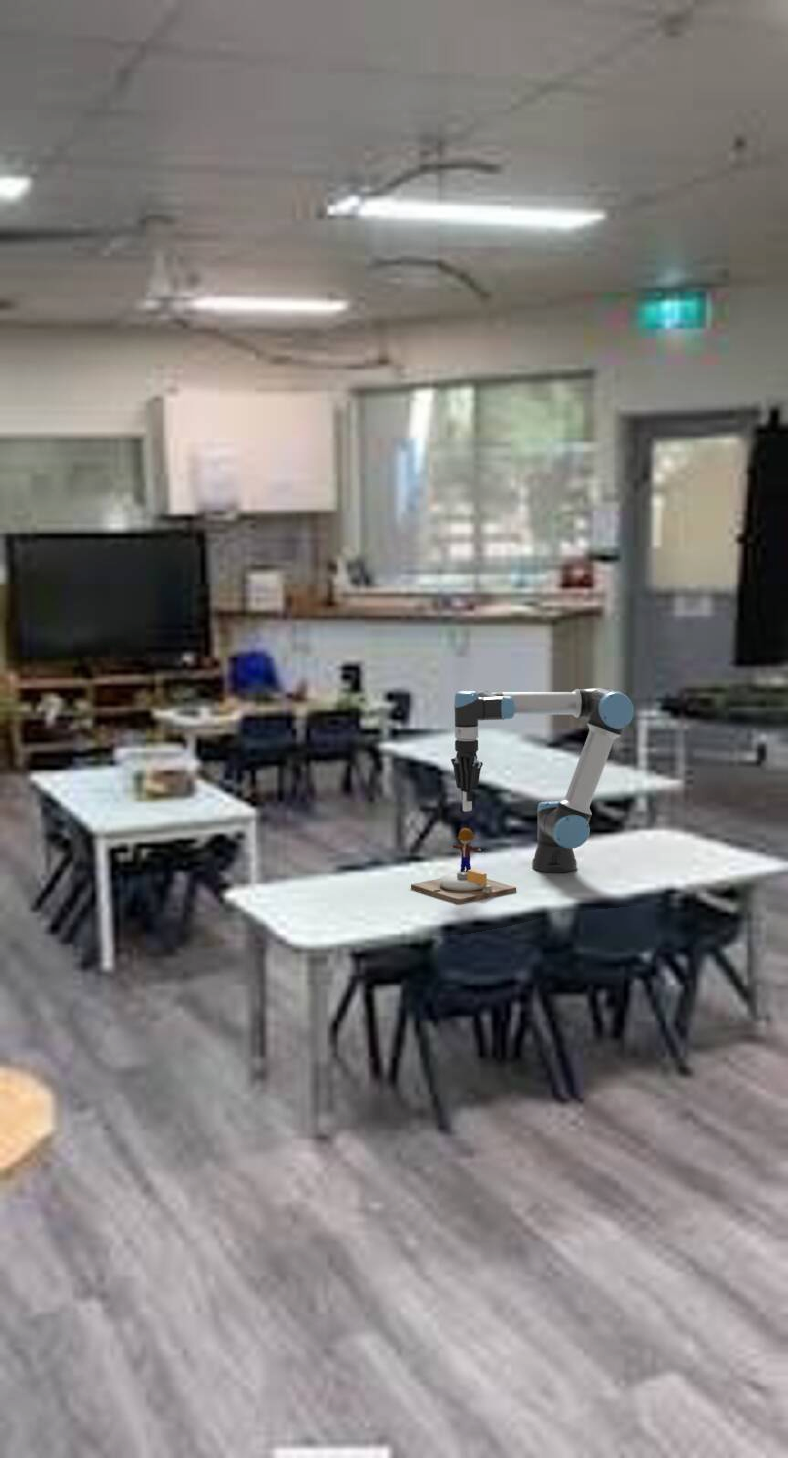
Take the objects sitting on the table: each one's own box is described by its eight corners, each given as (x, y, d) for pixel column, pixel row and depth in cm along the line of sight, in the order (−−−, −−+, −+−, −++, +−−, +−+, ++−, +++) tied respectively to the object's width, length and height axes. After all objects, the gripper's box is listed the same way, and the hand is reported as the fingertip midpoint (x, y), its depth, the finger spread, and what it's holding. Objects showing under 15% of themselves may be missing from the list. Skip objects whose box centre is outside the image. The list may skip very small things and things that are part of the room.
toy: (447, 871, 487) (447, 828, 485) (454, 868, 492) (454, 825, 490) (477, 875, 482) (477, 831, 480) (483, 871, 487) (483, 828, 485)
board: (467, 877, 479) (467, 867, 478) (516, 891, 460) (516, 881, 459) (410, 888, 464) (410, 878, 464) (458, 904, 446) (458, 893, 445)
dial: (430, 884, 463) (430, 867, 462) (465, 877, 472) (465, 860, 472) (466, 894, 450) (466, 877, 449) (501, 887, 459) (501, 870, 458)
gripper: (444, 738, 468) (445, 809, 472) (471, 742, 458) (472, 815, 462) (461, 735, 473) (462, 806, 476) (488, 740, 463) (489, 812, 466)
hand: (467, 810), depth 469 cm, fingers closed
